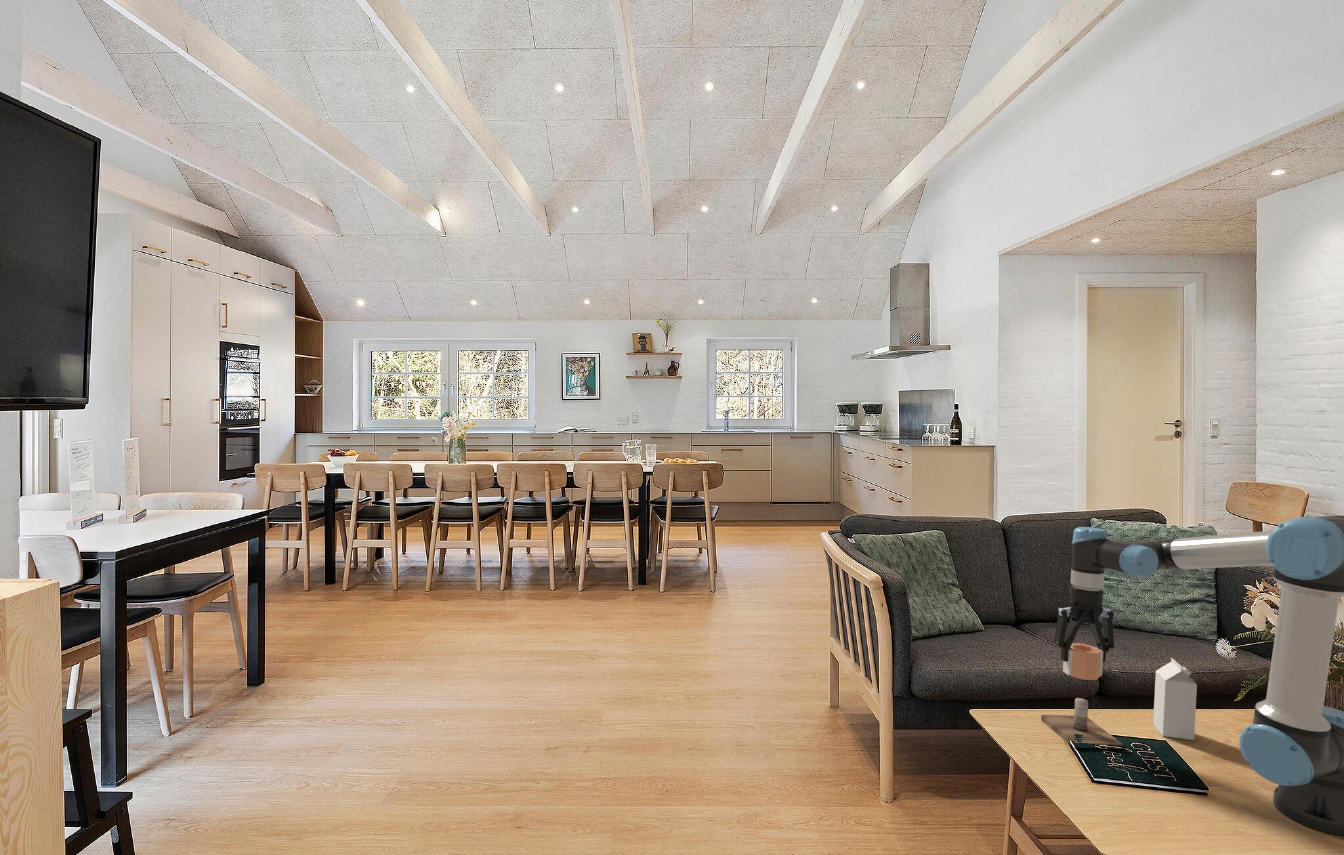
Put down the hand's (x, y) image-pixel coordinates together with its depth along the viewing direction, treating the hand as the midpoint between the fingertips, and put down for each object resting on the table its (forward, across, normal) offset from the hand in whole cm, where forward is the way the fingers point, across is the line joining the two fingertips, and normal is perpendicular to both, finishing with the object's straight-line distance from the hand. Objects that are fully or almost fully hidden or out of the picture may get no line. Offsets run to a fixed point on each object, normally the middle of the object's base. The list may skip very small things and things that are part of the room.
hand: (1082, 673), depth 186 cm
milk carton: (+16, -26, -2) cm, 31 cm away
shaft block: (+16, 0, 0) cm, 16 cm away
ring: (0, 0, 0) cm, 0 cm away
